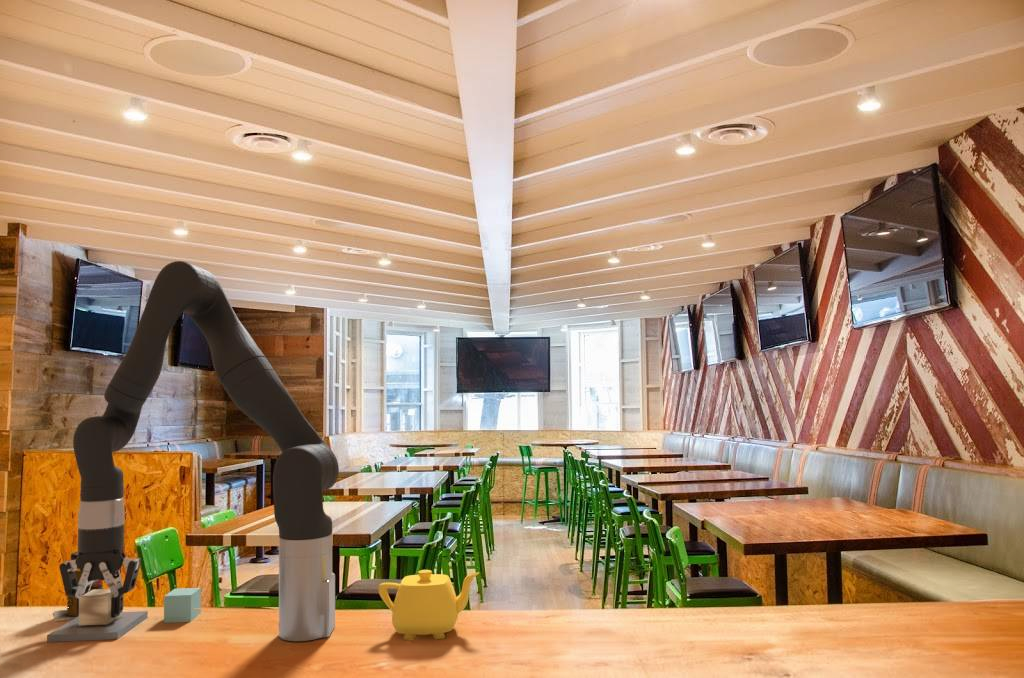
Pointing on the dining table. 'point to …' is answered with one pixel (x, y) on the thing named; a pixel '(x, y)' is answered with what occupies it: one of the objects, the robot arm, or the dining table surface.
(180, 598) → the block teal
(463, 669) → the dining table surface
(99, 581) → the condiment
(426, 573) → the teapot
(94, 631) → the plate
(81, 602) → the block birch
